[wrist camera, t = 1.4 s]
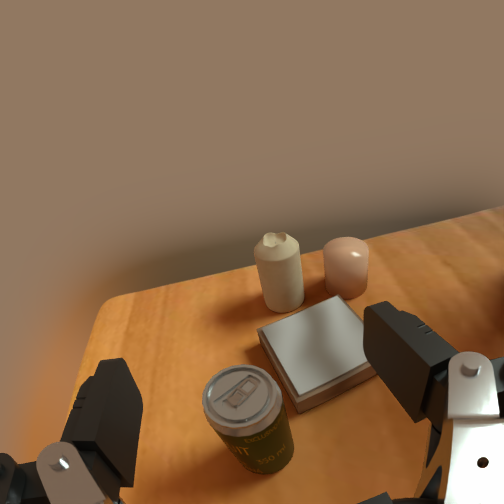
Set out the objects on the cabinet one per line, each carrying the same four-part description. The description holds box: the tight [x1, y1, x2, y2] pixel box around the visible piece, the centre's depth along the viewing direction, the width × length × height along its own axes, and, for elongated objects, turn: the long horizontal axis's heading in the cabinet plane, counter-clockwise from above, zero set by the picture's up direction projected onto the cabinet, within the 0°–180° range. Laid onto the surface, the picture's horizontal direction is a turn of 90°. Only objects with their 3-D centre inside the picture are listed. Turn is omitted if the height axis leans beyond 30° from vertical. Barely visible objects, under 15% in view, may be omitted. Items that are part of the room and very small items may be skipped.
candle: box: [254, 232, 304, 313], centre depth 40 cm, size 6×6×10 cm
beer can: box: [202, 364, 294, 474], centre depth 22 cm, size 5×5×12 cm
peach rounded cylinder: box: [323, 237, 369, 299], centre depth 41 cm, size 6×6×6 cm
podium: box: [257, 294, 377, 414], centre depth 33 cm, size 11×11×3 cm
